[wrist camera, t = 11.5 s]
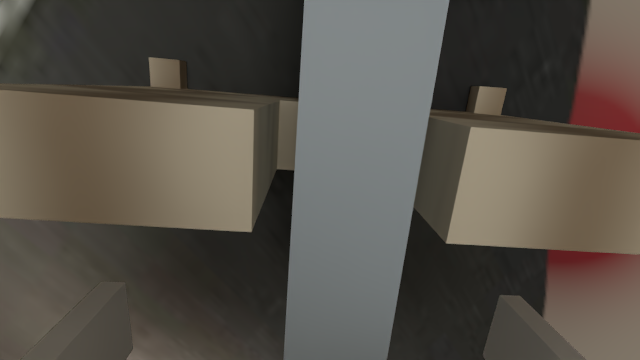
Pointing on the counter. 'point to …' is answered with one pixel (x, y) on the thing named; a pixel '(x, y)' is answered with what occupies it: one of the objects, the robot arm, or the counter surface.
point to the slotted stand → (279, 153)
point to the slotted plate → (357, 169)
